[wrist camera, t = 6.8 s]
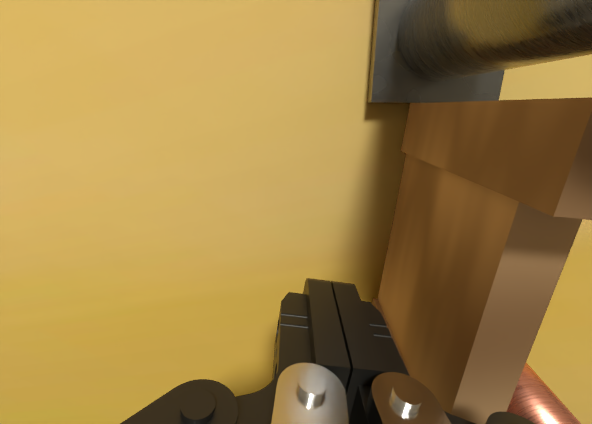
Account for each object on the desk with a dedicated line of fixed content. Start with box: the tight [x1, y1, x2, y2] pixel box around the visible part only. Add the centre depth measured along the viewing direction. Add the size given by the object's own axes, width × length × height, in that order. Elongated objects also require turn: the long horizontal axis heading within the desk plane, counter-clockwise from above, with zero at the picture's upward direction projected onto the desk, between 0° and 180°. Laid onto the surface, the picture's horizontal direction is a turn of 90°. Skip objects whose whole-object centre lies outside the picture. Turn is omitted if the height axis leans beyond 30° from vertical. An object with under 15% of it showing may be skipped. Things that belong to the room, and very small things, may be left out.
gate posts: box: [368, 0, 592, 424], centre depth 8 cm, size 6×15×10 cm, turn 0°
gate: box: [372, 98, 592, 424], centre depth 9 cm, size 9×2×7 cm, turn 175°
